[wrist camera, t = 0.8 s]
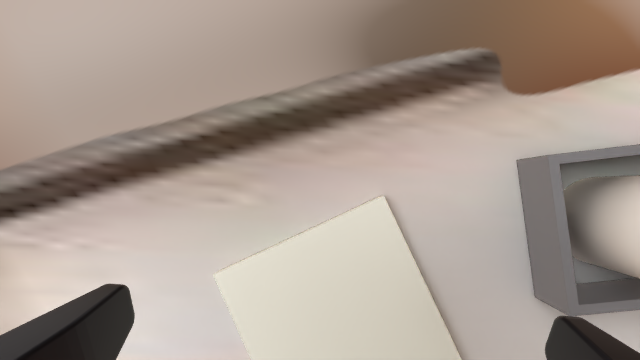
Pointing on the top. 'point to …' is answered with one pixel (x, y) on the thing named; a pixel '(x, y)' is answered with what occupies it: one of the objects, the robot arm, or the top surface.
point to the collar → (565, 239)
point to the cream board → (337, 295)
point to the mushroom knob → (605, 222)
